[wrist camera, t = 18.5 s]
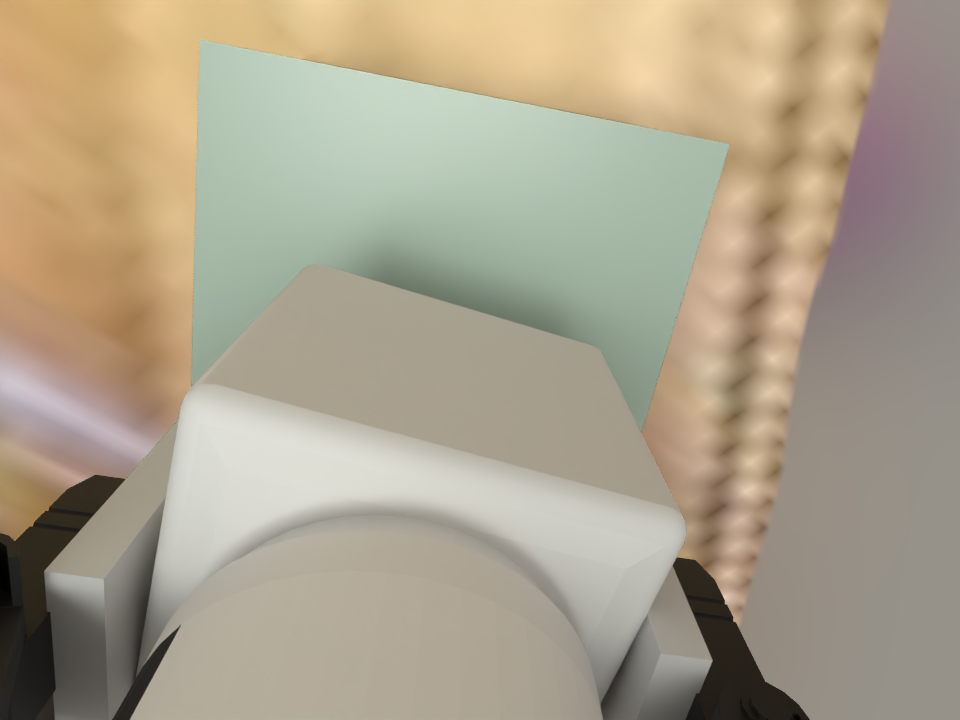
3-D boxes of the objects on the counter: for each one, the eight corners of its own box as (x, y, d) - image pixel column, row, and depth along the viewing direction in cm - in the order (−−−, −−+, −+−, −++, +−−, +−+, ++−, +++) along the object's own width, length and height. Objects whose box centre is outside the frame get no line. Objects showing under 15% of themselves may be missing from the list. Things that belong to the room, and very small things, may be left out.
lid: (582, 592, 24) (586, 611, 24) (198, 531, 24) (186, 549, 23) (718, 141, 19) (730, 144, 18) (214, 42, 18) (199, 39, 17)
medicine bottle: (509, 578, 18) (569, 1341, 7) (249, 513, 17) (-148, 1268, 6) (605, 345, 16) (933, 963, 5) (307, 255, 15) (-188, 750, 4)
